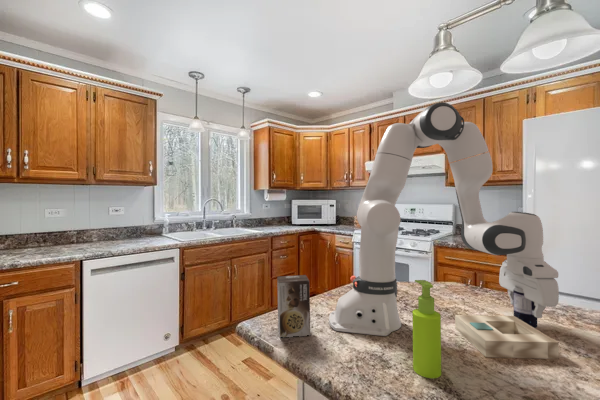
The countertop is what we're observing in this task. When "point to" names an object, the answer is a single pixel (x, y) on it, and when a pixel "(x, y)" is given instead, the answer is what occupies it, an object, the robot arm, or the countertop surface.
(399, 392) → the countertop surface
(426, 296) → the soap dispenser
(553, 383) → the countertop surface
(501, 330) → the socket board
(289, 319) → the grey cardboard box
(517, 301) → the beverage can
